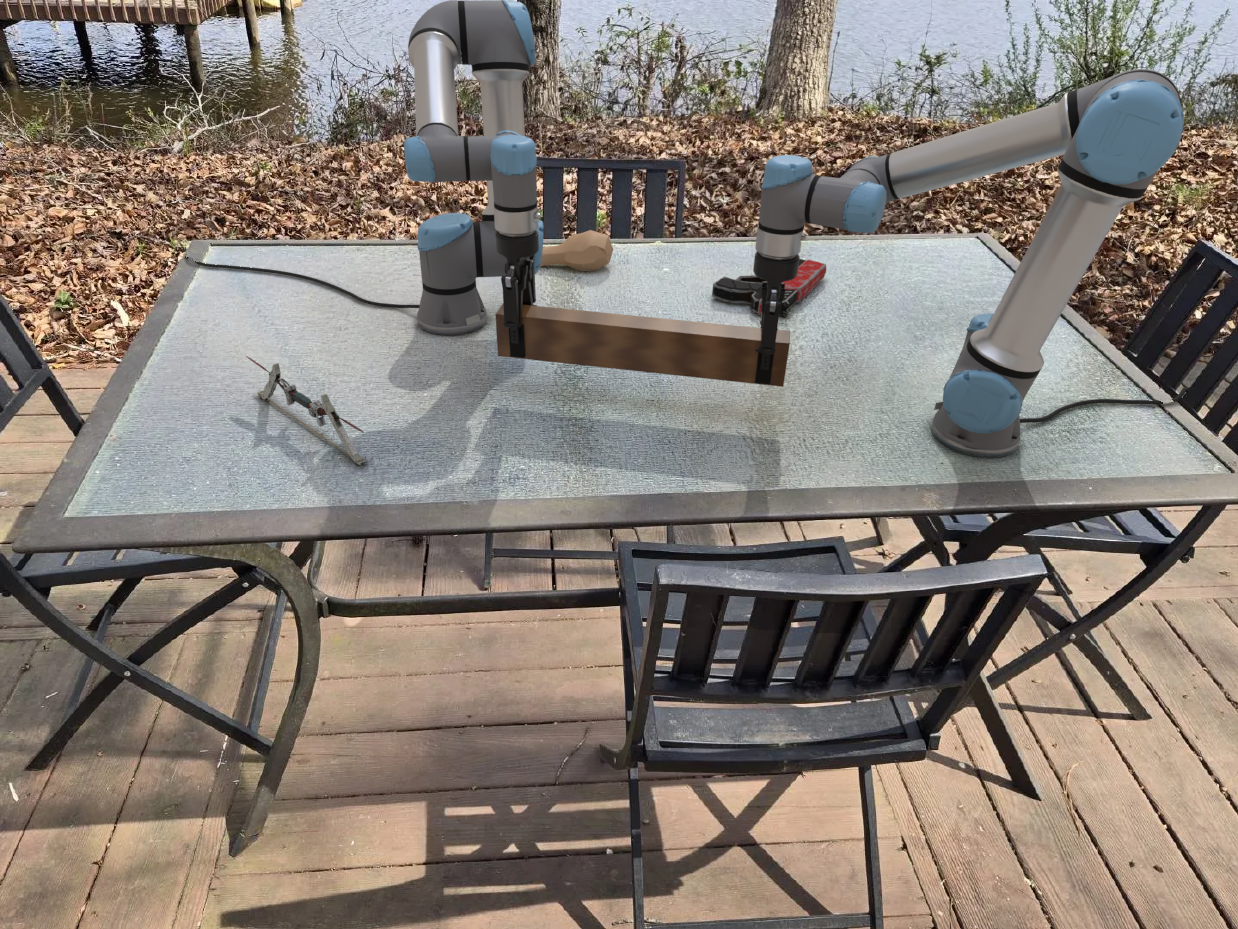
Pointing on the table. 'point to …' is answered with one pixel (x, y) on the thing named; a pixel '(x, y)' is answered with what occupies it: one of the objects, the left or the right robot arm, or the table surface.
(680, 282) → the table surface
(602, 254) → the squash
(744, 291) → the gun
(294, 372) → the table surface
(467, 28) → the left robot arm
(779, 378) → the beam
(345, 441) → the bow
